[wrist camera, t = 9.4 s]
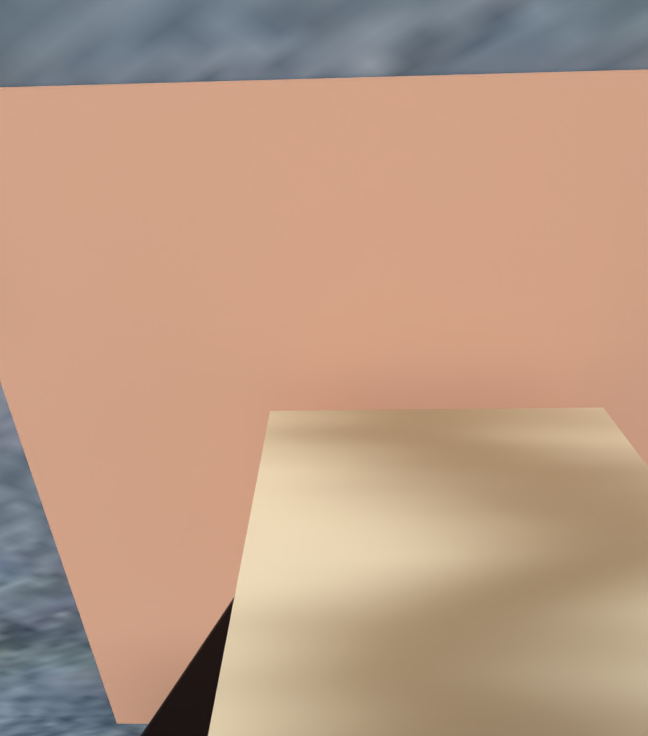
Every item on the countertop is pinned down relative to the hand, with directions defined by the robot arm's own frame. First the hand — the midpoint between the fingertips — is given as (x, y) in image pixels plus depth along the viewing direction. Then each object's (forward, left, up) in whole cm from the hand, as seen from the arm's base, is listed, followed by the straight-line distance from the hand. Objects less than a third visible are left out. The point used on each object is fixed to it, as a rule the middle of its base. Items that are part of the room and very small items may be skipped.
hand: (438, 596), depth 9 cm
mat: (0, 0, -2) cm, 2 cm away
